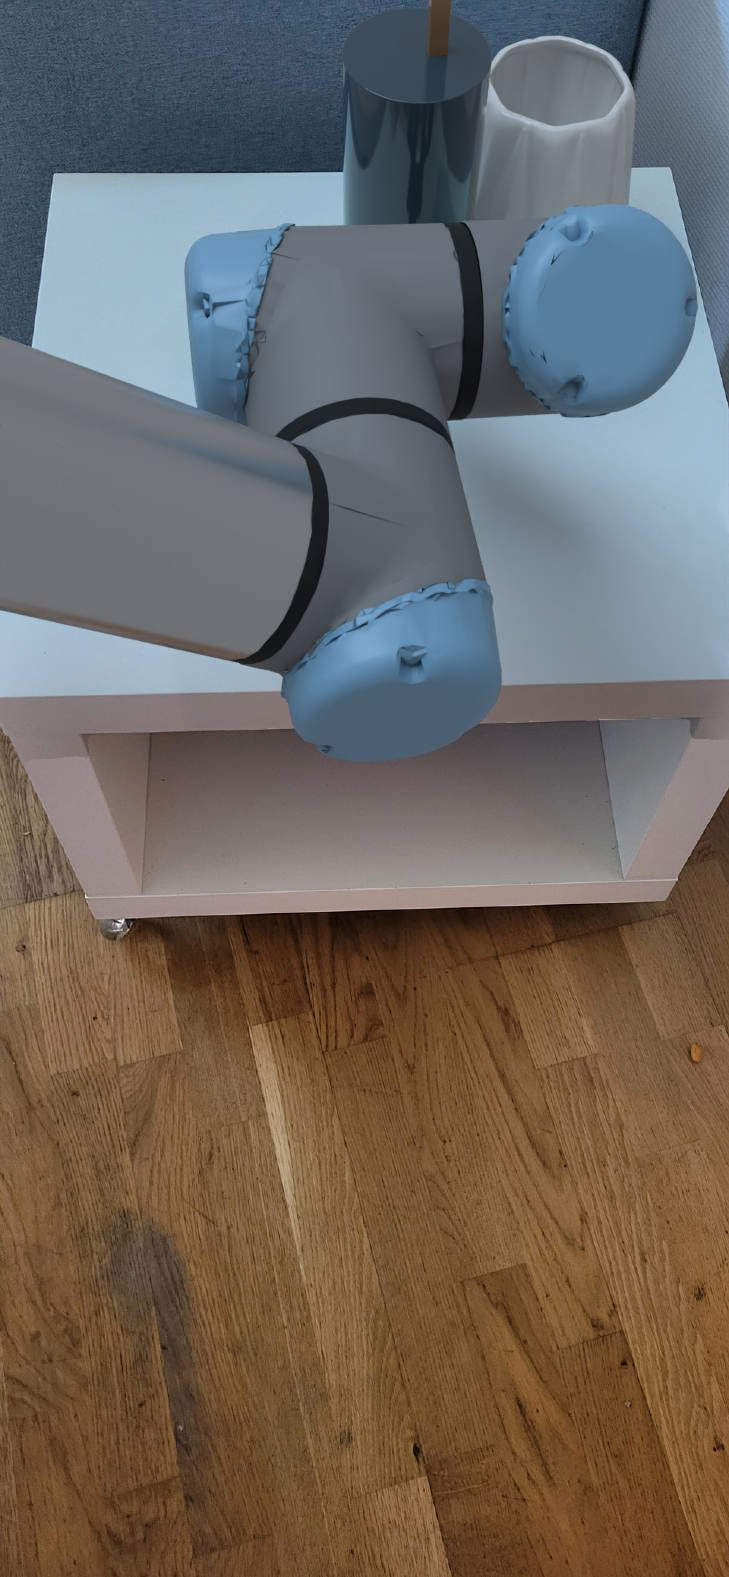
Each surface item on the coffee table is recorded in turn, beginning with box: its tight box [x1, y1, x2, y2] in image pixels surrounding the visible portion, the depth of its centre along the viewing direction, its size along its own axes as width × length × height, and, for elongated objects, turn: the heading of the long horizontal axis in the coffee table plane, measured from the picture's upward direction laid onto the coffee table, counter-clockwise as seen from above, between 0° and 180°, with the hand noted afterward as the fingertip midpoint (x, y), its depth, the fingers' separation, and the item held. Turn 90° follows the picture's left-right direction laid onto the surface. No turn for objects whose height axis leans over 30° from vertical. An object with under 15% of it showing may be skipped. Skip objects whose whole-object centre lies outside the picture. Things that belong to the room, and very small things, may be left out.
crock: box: [341, 0, 493, 225], centre depth 73 cm, size 9×9×34 cm
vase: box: [474, 35, 637, 221], centre depth 85 cm, size 14×14×15 cm
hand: (409, 344), depth 79 cm, fingers closed
